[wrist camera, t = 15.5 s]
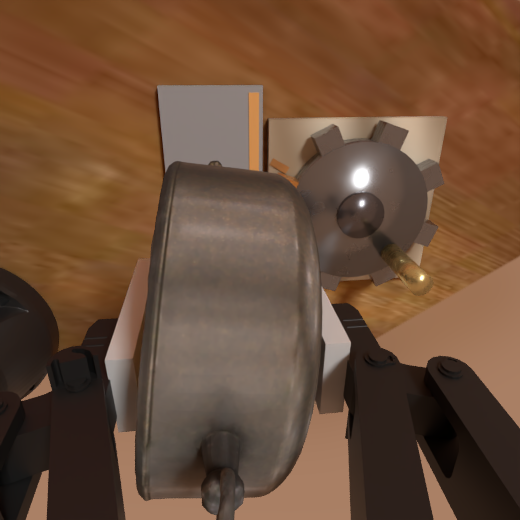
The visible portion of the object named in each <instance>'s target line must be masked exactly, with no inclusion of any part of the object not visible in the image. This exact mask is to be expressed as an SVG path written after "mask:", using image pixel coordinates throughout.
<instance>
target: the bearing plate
mask: <svg viewBox="0 0 520 520" xmlns="http://www.w3.org/2000/svg"><path fill="white" fill-rule="evenodd" d="M379 120H381V121H384V122H387V123H390V124H393V125H395V126H398V127H401V128H403V129H406V130H409V132H408V134H407V137H406V139H405V141H404V143H403V145H402V147H401V151H402V152H404V153H405V154H407V155H408V156H409V157H410V158H411V159H412V160H413V161H414V162H415V164H416V165H417V164H419V163H421V162H423V161H425V160H427V159H431V160H434V161H436V162H438V163H439V160H440V154H441V149H442V144H443V138H444V133H445V128H446V122H447V117H444V116H419V117H339V118H268V152H267V172H270V173H276V174H277V173H278V172H279V173H282V174H285V175H288V176H291V177H294V178H295V177H296V176H297V174H298V172H299V171H300V170H301V168H302V167H303V166H304V164H305V163H306V162H307V161H308V160H309V159H310V158H311V157H313V156H314V155H315V154H317V151H316V148H315V146H314V144H313V141H312V139H311V136H310V135H312V134H314V133H316V132H318V131H320V130H322V129H323V128H325V127H327V126H329V125H331V124H334V125H336V126H338V127H339V130H340V132H341V135H342V138H343V140H347V139H354V138H368V139H371V138H372V136H373V134H374V132H375V129H376V127H377V125H378V122H379ZM433 192H434V189H432V190H430V191H428V192H427V196H428V203H427V212H426V217H425V219H426V220H428V219H429V214H430V208H431V203H432V197H433ZM423 246H424V245H420V244H417V243H414V242H413V244H412V245H411V246H410V248H409V249H408V250H407V251H406V252H405V253H406V254H407V255H408V256H409V257H410V258H411V259H412V260H413V261H414V262H415V263H416V264H417V265H419V266H420V262H421V257H422V251H423ZM395 276H396V277H395V278H399V277H398V276H397V275H396V274H395ZM366 279H370V277H369V275H364V276H358V277H341V279H340V281H349V280H366Z"/></svg>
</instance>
